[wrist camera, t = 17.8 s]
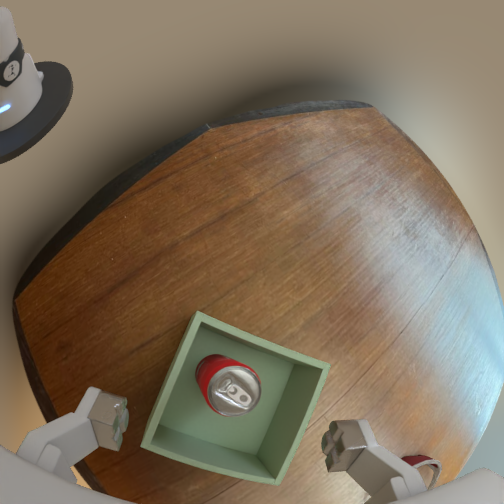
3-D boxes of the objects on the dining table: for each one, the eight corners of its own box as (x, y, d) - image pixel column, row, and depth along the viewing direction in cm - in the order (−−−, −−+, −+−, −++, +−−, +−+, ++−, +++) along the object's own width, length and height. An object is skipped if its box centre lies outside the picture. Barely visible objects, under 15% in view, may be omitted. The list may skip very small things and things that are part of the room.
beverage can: (212, 344, 35) (230, 350, 24) (244, 370, 35) (276, 385, 24) (186, 375, 33) (191, 396, 22) (218, 400, 33) (239, 430, 22)
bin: (147, 422, 30) (140, 446, 22) (191, 315, 36) (197, 310, 28) (257, 458, 32) (279, 485, 24) (299, 359, 38) (331, 364, 30)
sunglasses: (439, 447, 39) (454, 455, 34) (403, 508, 36) (415, 518, 31) (382, 453, 36) (399, 465, 31) (342, 520, 33) (353, 534, 29)
